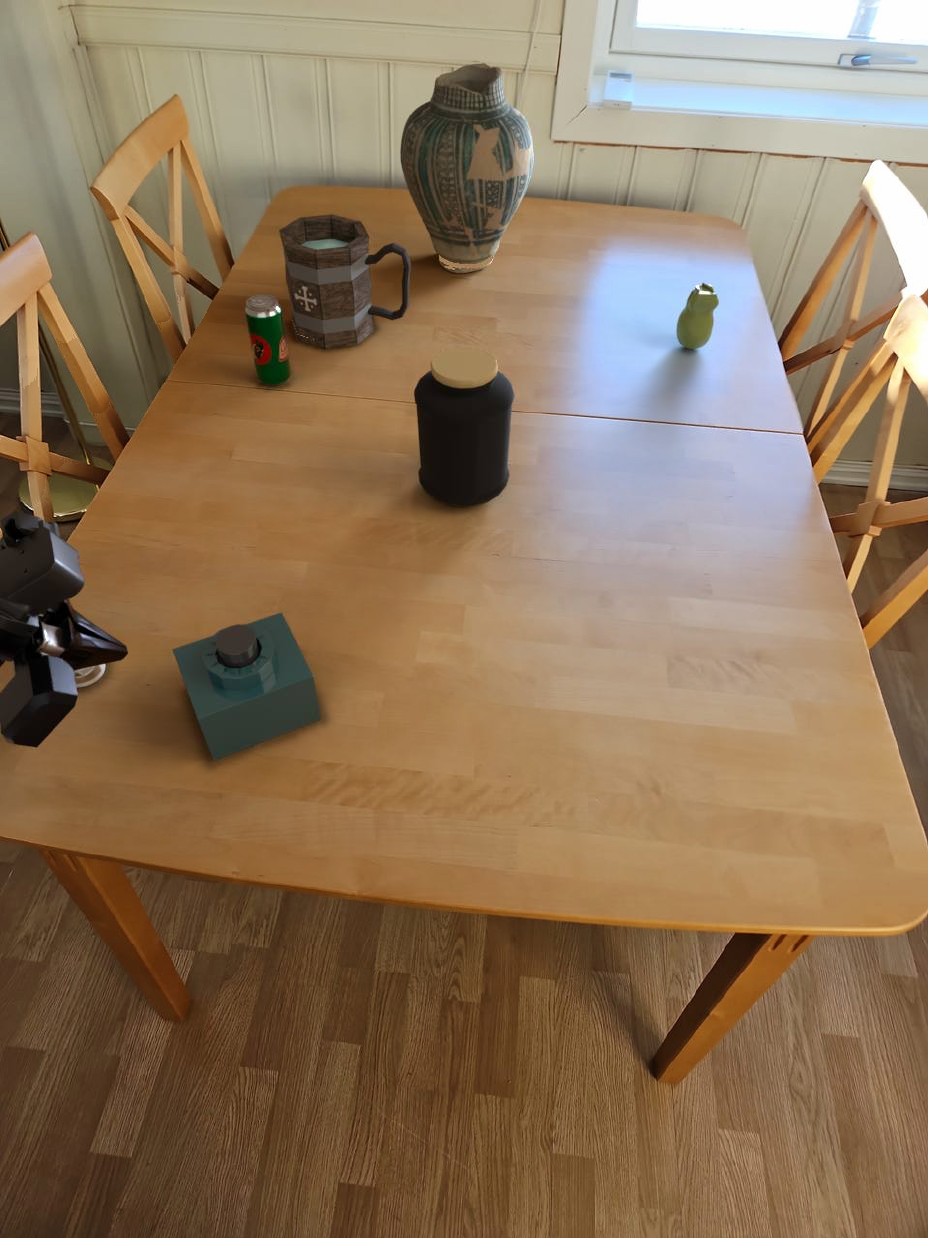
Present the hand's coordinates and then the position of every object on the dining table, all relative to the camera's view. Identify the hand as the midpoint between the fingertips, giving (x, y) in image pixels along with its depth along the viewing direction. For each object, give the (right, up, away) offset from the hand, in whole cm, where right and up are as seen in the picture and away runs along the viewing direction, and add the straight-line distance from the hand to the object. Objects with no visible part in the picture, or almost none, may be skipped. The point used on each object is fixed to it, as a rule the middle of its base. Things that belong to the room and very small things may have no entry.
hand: (124, 653), depth 70 cm
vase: (+29, +68, +79) cm, 108 cm away
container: (+29, +20, +37) cm, 51 cm away
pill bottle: (-11, -3, +16) cm, 19 cm away
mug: (+11, +50, +63) cm, 81 cm away
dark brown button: (+8, 0, +7) cm, 10 cm away
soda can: (+1, +39, +53) cm, 65 cm away
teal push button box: (+8, -6, +13) cm, 16 cm away
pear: (+65, +47, +62) cm, 101 cm away
